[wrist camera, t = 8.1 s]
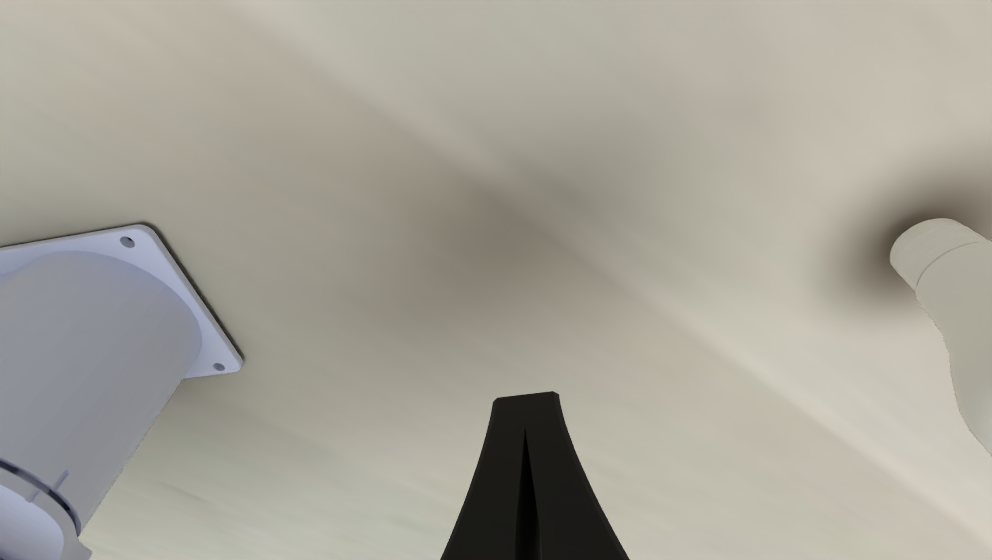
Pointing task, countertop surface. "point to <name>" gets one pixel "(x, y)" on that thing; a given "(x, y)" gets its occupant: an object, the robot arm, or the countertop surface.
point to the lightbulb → (955, 307)
